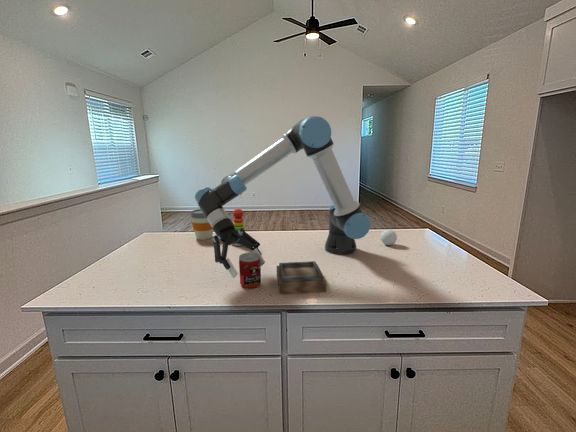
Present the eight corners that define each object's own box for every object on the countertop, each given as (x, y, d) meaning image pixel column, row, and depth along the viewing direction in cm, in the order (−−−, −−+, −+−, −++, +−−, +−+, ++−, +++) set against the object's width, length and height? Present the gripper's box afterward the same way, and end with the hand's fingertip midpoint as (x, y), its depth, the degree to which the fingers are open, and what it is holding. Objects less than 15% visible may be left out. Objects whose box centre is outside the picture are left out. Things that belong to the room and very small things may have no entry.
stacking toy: (243, 246, 154) (242, 210, 150) (228, 245, 155) (226, 210, 151) (248, 242, 161) (247, 207, 157) (234, 241, 163) (232, 207, 159)
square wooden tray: (316, 273, 121) (317, 260, 119) (325, 291, 105) (326, 276, 104) (276, 275, 119) (276, 262, 118) (279, 294, 104) (279, 279, 102)
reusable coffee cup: (189, 236, 172) (187, 210, 169) (210, 232, 179) (208, 207, 176) (197, 241, 162) (195, 214, 159) (219, 237, 170) (217, 211, 166)
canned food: (244, 291, 106) (243, 261, 104) (237, 282, 113) (235, 254, 111) (264, 286, 110) (263, 257, 107) (256, 278, 116) (255, 251, 114)
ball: (379, 246, 153) (380, 230, 151) (380, 241, 160) (381, 227, 158) (396, 248, 150) (397, 232, 148) (397, 243, 157) (398, 228, 155)
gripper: (241, 222, 127) (268, 264, 121) (188, 236, 108) (217, 286, 102) (249, 211, 123) (278, 255, 117) (196, 223, 104) (227, 276, 98)
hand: (250, 270), depth 110 cm, fingers open, 13 cm apart
